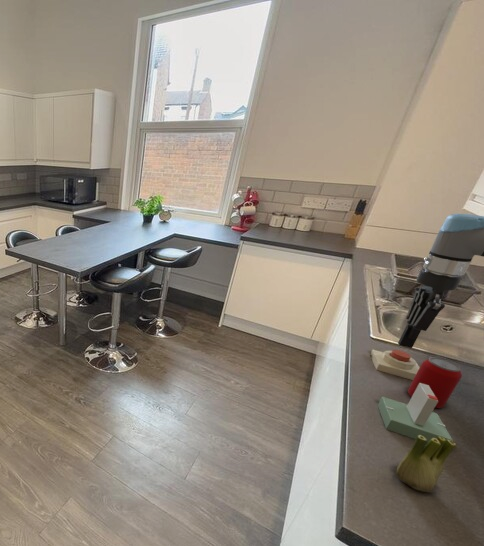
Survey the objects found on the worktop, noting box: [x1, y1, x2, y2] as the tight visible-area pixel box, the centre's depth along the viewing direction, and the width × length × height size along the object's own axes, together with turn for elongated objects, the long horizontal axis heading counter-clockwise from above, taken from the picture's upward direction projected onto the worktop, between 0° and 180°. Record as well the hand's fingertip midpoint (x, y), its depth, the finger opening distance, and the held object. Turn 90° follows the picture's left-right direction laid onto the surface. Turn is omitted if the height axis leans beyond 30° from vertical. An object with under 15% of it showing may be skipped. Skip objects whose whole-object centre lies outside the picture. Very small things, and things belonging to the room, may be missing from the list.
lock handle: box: [407, 383, 438, 426], centre depth 72 cm, size 6×2×8 cm, turn 147°
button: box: [390, 349, 412, 362], centre depth 93 cm, size 4×4×2 cm
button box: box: [369, 349, 420, 381], centre depth 94 cm, size 10×9×4 cm
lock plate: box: [377, 396, 454, 444], centre depth 74 cm, size 10×9×3 cm
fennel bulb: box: [396, 435, 458, 493], centre depth 59 cm, size 6×5×12 cm
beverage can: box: [407, 356, 463, 409], centre depth 80 cm, size 7×7×12 cm
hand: (404, 345), depth 92 cm, fingers closed
